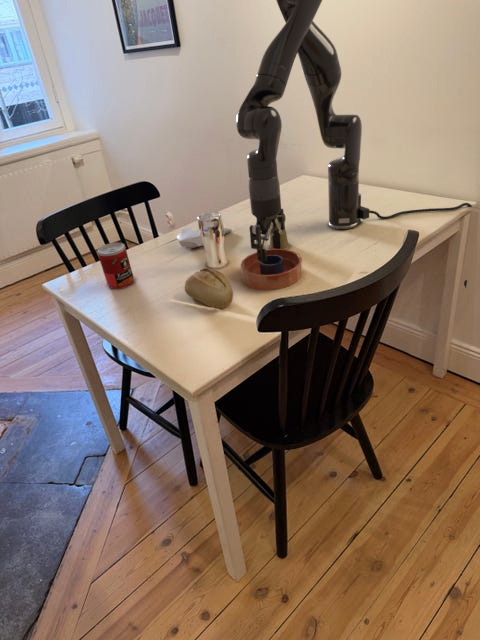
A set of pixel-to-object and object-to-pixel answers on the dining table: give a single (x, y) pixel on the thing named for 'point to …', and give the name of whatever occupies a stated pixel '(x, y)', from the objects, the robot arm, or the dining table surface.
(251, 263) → the serving bowl
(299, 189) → the dining table surface
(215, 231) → the beer glass
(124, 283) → the canned food
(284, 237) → the cork
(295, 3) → the robot arm
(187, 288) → the bread roll
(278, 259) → the bowl
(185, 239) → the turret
